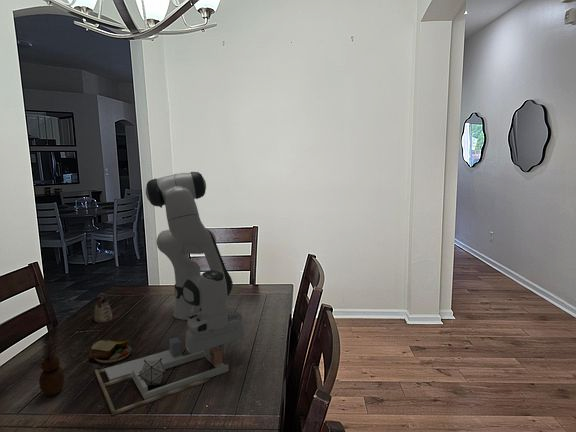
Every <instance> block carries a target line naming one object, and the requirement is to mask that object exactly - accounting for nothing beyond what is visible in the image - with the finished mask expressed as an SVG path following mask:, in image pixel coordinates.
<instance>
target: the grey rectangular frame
mask: <svg viewBox="0 0 576 432" xmlns="http://www.w3.org/2000/svg"><path fill="white" fill-rule="evenodd" d="M208 352H209V353H211V354H213V359H211V360H208V359H207V354H206V353H205V351H204V350H203V351H199V352H196V353H193V354H191V353H189V354H187V355H183V357H180V358H177V359H174V360H170V361H167V362H164V363H162V365H163V367H164V369H165V370H168V369H171V368H173V367H177V366H180V365H183V364H186V363H189V362H193V361H196V360H199V359H202V358H205V359H206V360H207V361H208V362H210V364H211V365H212V366H213V367H214V368H211V369H209V370H205V371H203V372H200V373H197V374H195V375H192V376H189V377H186V378H182V379H180V380H177V381H174V382H171V383H167V384H165V385H162V387H161V386H159V387H156V388H153V389H150V390H149V387H148V386H147V385H146V383H145V381H144V380H143V379H141V377H140V376H139V377H138V375H140V373H141V371H142V369H141V370H137V368H135V369H132V371H133V372H132V378H131V379H132V380H133V381H134V384H135V385H136V387H137V388H138V390H139V392H140V395H141V396H142V399H144V400H146V399H149V398H152V397H155V396H158V395H160V394H163V393H166V392H169V391H172V390H175V389H177V388H180V387H183V386H186V385H189V384H192V383H194V382H197V381H200V380H203V379H206V378H209V379H210V378H213V377H215V376H216V377H217V376H218V375H222V374H224V373H227V372H230V371H229V364H224V361H223V356H222V350H221V348H220V347H219V346H216V347H213V348H210V351H208Z"/></svg>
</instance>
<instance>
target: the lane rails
mask: <svg viewBox="0 0 576 432" xmlns="http://www.w3.org/2000/svg"><path fill="white" fill-rule="evenodd" d="M168 350H169V349H167V350H166V351H168ZM164 351H165V350H163V351H160V352H156V353H153V354H151V355H154V354H158V353H161V352H164ZM151 355H146V356H143V357H142V358H144V357H147V356H151ZM140 358H141V357H139V358H136V359H135V360H137V359H140ZM133 360H134V359H133ZM133 360H132V359H131V360H129V361H125V362H123V363H127V362H130V361H133ZM123 363H119V364H116V365H120V364H123ZM116 365H113V366H116ZM113 366H111V367H113ZM109 367H110V366H108V367H105V368H102V369H94V374H95V376H96V379H97V381H98V384H99V386H100V388H101V391H102V393H103V396H104V398H105V401H106V403H107V406H108V408H109V411H110V413H111V415H112V416H115V415H118V414H121V413H123V412H127V411H129V410H131V409H134V408H137V407H140V406H142V405H145V404H148V403H151V402H153V401H154V402H155V401H157V400H159V399H162V398H165V397H169V396H171V395H173V394H177V393H180V392H182V391H185V390H188V389H190V388H193V387H196V386H199V385H201V384H204V383H208V382H210V378H206V379H203V380H200V381H197V382H194V383H192V384H189V385H186V386H183V387H180V388H177V389H175V390H172V391H169V392H166V393H163V394H160V395H158V396H155V397H152V398H149V399H146V400H141V401H139V402H135V403H133V404H129V405H127V406H123V407H120V408H118V409H115V407H114V405H113V402H112V399H111V397H110V395H109V393H108V391H107V387H108V386H111V385H114V384H118V383H121V382H124V381H126V380H130V379H133V378H132V375H129V376H126V377H123V378H120V379H116V380H113V381H107V382H104V381H103V378H102V376H101V373H106V372H105V369H106V368H109Z"/></svg>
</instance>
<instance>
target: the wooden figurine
mask: <svg viewBox="0 0 576 432" xmlns="http://www.w3.org/2000/svg"><path fill="white" fill-rule="evenodd" d="M40 363H41V365H40V367H41V370H42V372H41V374H40V376H39V382H38V384H39V388H40V390H41V392H42V393H43V395H45V396H47V397H51V396H52V397H53V396H54V395H57V394H58V393H60V392H61V390H63V387H64V383H65V378H66V377H65V372H64V369H63V368H62V367H61V366H60V358H59V356H57V355H54V354H53V353H52V348H51V343H50V342H49V343H48V355H47V356H45V357H44V358H43V359H42V361H41V362H40Z"/></svg>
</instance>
